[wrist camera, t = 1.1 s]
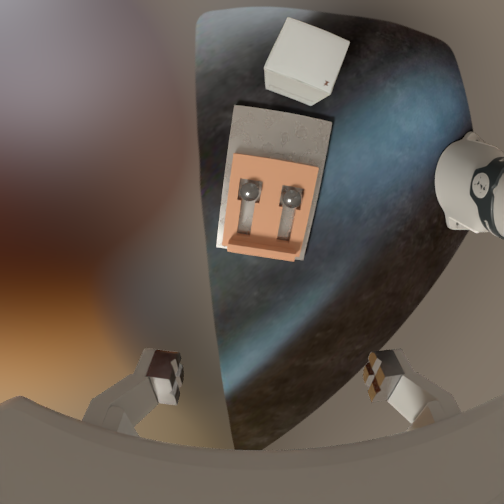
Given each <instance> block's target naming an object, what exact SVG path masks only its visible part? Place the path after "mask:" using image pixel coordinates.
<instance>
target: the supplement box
mask: <svg viewBox="0 0 504 504" xmlns="http://www.w3.org/2000/svg"><path fill="white" fill-rule="evenodd" d="M349 44H350V41H348V40H345V39H343V38H341V37H339V36H337V35H334V34H332V33H330V32H327V31H325V30H322V29H320V28H317V27H315V26H312V25H310V24H307V23H304V22H301V21H299V20H296V19H293V18H290V17H287V20H286V22H285V24H284V26H283V28H282V30H281V32H280V34H279V36H278V38H277V40H276V42H275V44H274V46H273V48H272V50H271V53H270V55H269V57H268V59H267V61H266V63H265V66H264V71H265V85H266V89H268V90H270V91H273V92H276V93H278V94H281V95H284V96H287V97H289V98H292V99H294V100H297V101H300V102H302V103H305V104H307V105H309V106H312V105H314V104H315V103H317V102H319V101H320V100H322V99H324V98H325V97H327V96H329V95H330V94H331V92H332V90H333V87H334V84H335V82H336V79H337V76H338V73H339V71H340V68H341V65H342V63H343V60H344V57H345V54H346V52H347V49H348V47H349Z"/></svg>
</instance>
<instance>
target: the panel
mask: <svg viewBox="0 0 504 504" xmlns="http://www.w3.org/2000/svg"><path fill="white" fill-rule="evenodd" d="M318 170H319V168H318V167H316V166H311V165H306V164H301V163H295V162H290V161H284V160H278V159H273V158H266V157H260V156H253V155H246V154H239V153H233V161H232V168H231V175H230V183H229V191H228V199H227V207H226V215H225V223H224V232H223V241H222V246H227V251H228V252H234V253H241V254H247V255H254V256H260V257H267V258H274V259H280V260H287V261H293V262H294V260H295V257H299V256H300V252H301V248H302V244H303V239H304V235H305V231H306V226H307V222H308V217H309V213H310V208H311V204H312V199H313V194H314V189H315V185H316V180H317V175H318ZM241 178H242V179H248V180H255V181H262V182H263V183H262V189H261V195H260V202H259V201H255V207H254V213H253V220H252V226H251V233H250V235H247V234H240V233H237V230H238V223H239V216H240V209H241V202H242V199H239V198H238V193H239V186H240V179H241ZM282 185H286V186H291V187H297V188H302V189H303V194H302V199H301V204H300V208H295V213H294V218H293V223H292V228H291V233H290V237H289V241H285V240H279V239H277V235H278V230H279V224H280V219H281V214H282V209H283V206H282V205H279V202H280V196H281V191H282Z"/></svg>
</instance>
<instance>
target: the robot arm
mask: <svg viewBox="0 0 504 504" xmlns="http://www.w3.org/2000/svg"><path fill="white" fill-rule="evenodd" d="M435 190H436V195H437V198H438V201H439V203H440V205H441V207H442V209H443V210H444V213H445V217H446V223H447V226H448V228H450V229H453V230H471V231H473V232H475V233H478V232H491V233H492V234H493V235H495V236H497V237H499V238H501V239H504V152H503V151H501V150H499V149H498V147H496V146H493V145H490V144H486V143H485V142H484V141H483V140H482V139H481V138H480V137H479V136H478V135H477V134H476V133H474V132H471V131H470V132H468V133H467V134H466V135H465V136H464V137H463V139H461V140H459V141H457V142H454V143H452V144H451V145H449V146H448V147H447V148H446V149H445V150H444V152H443V153H442V155H441V157H440V159H439V161H438V164H437V168H436V173H435ZM456 223H457V224H456ZM368 359H369V362H368V363H367V364H366V365H365V367H364V370H363V380H364V383H365V385H367V386H368V387H369V389H368V395H369V398H370V400H371V403H373V402H380V401H387V400H388V402H389V403H390V404H391V405H392V406H393V407H394V408H395V409H396V410H398V411H399V412H400V413H401V414H402V415H403V416H404V417H405V418H406V419H407V420H408V421H409V422H410V423H411V425H410V427H409V428H408V429H407V431H406V432H402V433H398V434H394V435H390V436H386V437H382V438H377V439H372V440H368V441H362V442H356V443H350V444H344V445H336V446H328V447H320V448H308V449H296V450H295V449H294V450H267V451H266V450H229V449H213V448H203V447H195V446H187V445H179V444H173V443H167V442H161V441H156V440H151V439H145V438H141V437H139V435H138V433H137V432H136V430H135V429H134V427H135V426H136V425H137V424H138V423H139V422H140V421H141V420H142V419H143V418H144V417H145V416H146V415H147V414H148V413H150V412H151V411H152V410H153V409H154V408H155V407H156V406H157V405H158V403H162V404H171V405H177V404H178V400H179V396H180V391H179V387H181V386H182V383H183V377H184V371H183V366H182V364H181V363H180V361H181V356H180V353H179V352H173V351H165V350H158V349H149V348H145V349H144V351H143V353H142V355H141V357H140V360H139V362H138V364H137V367H136V369H135V371H134V374H130V375H128V376H127V377H125V378H124V379H122V380H121V381H119V382H118V383H116V384H114V385H113V386H111V387H110V388H108V389H107V390H105V391H104V392H102V393H101V394H99V395H98V396H96V397H95V398H93V399H92V400H91V402H90V404H89V407H88V409H87V411H86V413H85V415H84V417H83V419H82V421H81V420H78V419H75V418H72V417H70V416H67V415H64V414H62V413H60V412H57V411H55V410H52V409H50V408H48V407H45V406H43V405H41V404H38V403H36V402H34V401H32V400H30V399H28V398H25V397H23V396H16V397H14V398H11V399H9V400H7V401H5V402H3V403H1V404H0V504H504V393H503V394H501V395H499V396H497V397H495V398H493V399H491V400H489V401H487V402H485V403H483V404H481V405H478V406H476V407H474V408H472V409H470V410H467V411H465V412H462V413H461V411H460V409H459V407H458V405H457V403H456V401H455V399H454V397H453V396H452V394H451V393H449V392H447V391H446V390H444V389H443V388H441V387H439V386H438V385H437V384H435V383H433V382H432V381H430V380H429V379H427V378H426V377H424V376H423V375H421V374H419V373H418V372H414V370H413V368H412V366H411V364H410V363H409V361H408V359H407V357H406V355H405V353H404V352H403V350H402V349H401V348H400V349H392V350H384V351H375V352H371V353H370V354H369V357H368Z"/></svg>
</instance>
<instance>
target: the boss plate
mask: <svg viewBox="0 0 504 504" xmlns="http://www.w3.org/2000/svg"><path fill="white" fill-rule="evenodd" d="M331 127H332V122H329V121H325V120H321V119H317V118H312V117H307V116H302V115H297V114H292V113H287V112H281V111H275V110H269V109H262V108H255V107H247V106H239V105H234V111H233V118H232V124H231V131H230V138H229V145H228V153H227V160H226V168H225V175H224V183H223V191H222V200H221V208H220V217H219V226H218V235H217V245H216V247H219V248H226V249H227V246H222V241H223V232H224V223H225V215H226V207H227V199H228V191H229V183H230V175H231V168H232V161H233V153H239V154H246V155H253V156H260V157H266V158H273V159H278V160H284V161H290V162H295V163H301V164H306V165H311V166H316V167H318V168H319V170H318V175H317V180H316V185H315V189H314V194H313V199H312V204H311V208H310V213H309V217H308V222H307V226H306V231H305V235H304V239H303V244H302V248H301V252H300V256H299V257H295V259H298V260H303V259H304V255H305V251H306V246H307V242H308V238H309V234H310V230H311V225H312V221H313V216H314V212H315V207H316V203H317V198H318V194H319V189H320V184H321V179H322V174H323V169H324V164H325V159H326V154H327V149H328V143H329V138H330V132H331ZM262 183H263V182H262V181H255V180H248V179H242V178H241V179H240V186H239V193H238V198H239V199H242V202H241V209H240V216H239V223H238V230H237V233H240V234H247V235H250V233H251V226H252V220H253V213H254V207H255V201H259V202H260V195H261V189H262ZM302 194H303V189H302V188H297V187H291V186H286V185H282V191H281V196H280V202H279V205H282V206H283V209H282V214H281V219H280V224H279V230H278V235H277V239H279V240H285V241H289V237H290V233H291V228H292V223H293V218H294V213H295V208H300V204H301V199H302Z"/></svg>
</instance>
